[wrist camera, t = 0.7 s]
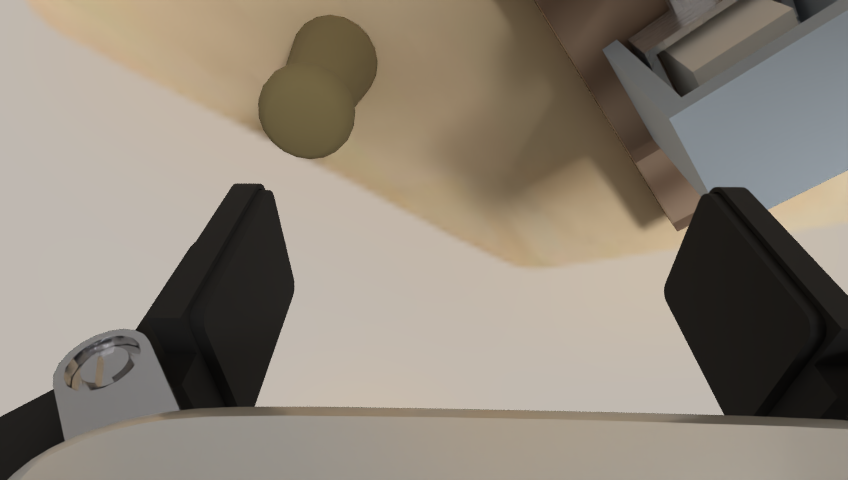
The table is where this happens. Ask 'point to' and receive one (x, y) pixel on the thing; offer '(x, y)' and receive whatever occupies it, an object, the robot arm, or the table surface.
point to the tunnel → (756, 111)
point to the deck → (621, 87)
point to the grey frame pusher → (678, 28)
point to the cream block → (725, 41)
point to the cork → (318, 88)
